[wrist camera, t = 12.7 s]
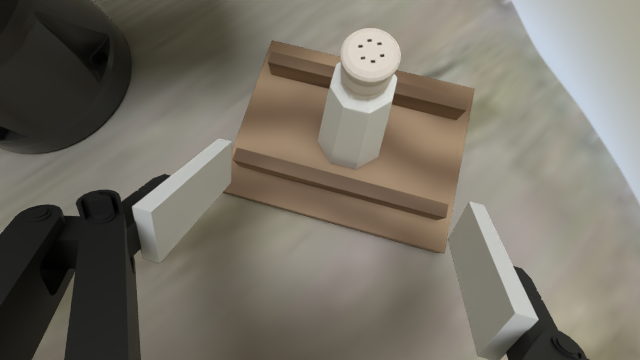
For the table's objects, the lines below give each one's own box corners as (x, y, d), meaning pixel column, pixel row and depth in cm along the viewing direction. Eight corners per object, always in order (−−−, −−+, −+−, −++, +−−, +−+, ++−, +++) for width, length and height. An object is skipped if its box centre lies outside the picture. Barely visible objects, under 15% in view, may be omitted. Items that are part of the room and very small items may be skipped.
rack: (436, 252, 24) (454, 253, 20) (224, 192, 25) (209, 184, 22) (466, 97, 27) (486, 76, 23) (274, 51, 28) (268, 25, 25)
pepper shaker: (313, 111, 25) (305, 7, 14) (377, 103, 25) (418, -6, 14) (321, 174, 24) (319, 113, 13) (389, 165, 24) (443, 97, 13)
